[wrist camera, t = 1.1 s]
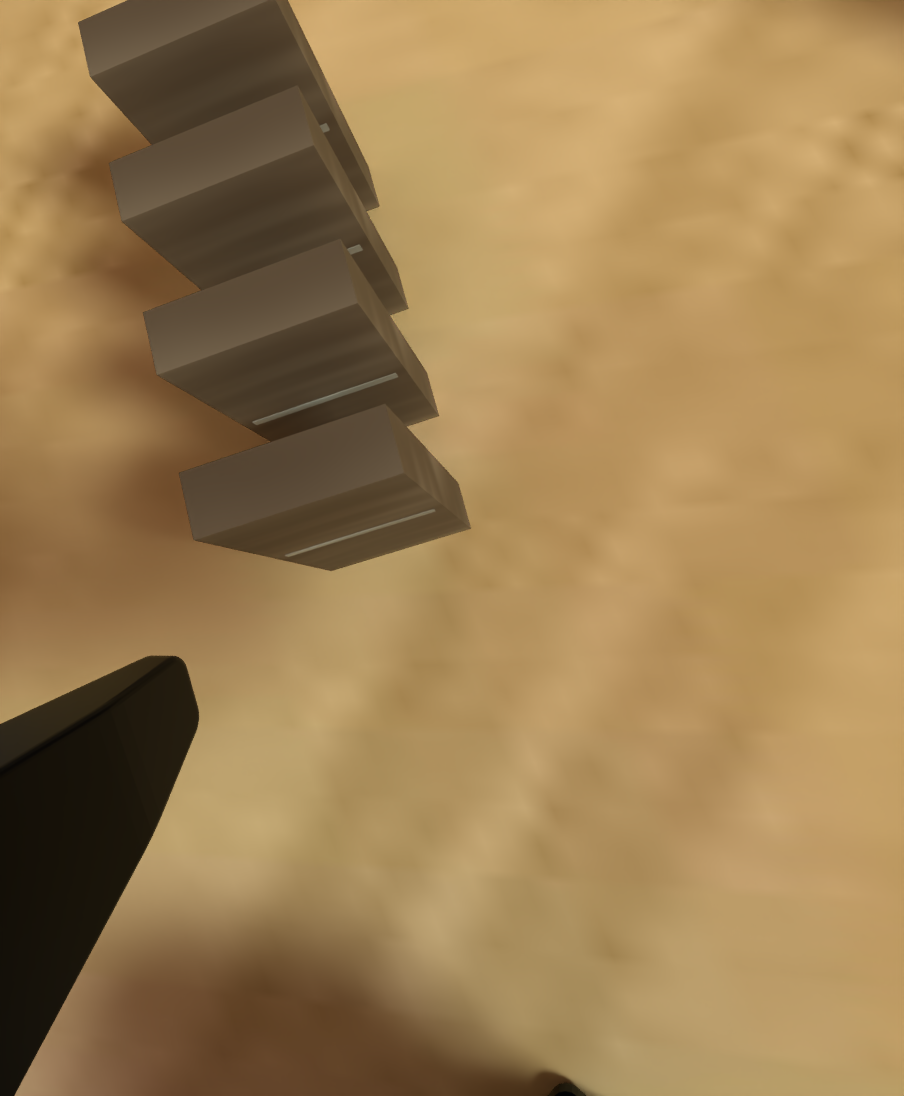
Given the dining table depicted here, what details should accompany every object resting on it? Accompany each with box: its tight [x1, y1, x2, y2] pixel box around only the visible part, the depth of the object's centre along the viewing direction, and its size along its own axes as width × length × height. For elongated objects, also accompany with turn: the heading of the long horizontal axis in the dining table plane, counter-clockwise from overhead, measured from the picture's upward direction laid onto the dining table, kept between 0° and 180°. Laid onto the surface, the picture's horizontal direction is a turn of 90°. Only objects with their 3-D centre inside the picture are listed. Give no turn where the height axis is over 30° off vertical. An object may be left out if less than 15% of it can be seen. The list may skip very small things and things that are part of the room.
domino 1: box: [179, 404, 471, 571], centre depth 21 cm, size 2×5×9 cm, turn 106°
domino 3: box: [109, 85, 409, 315], centre depth 22 cm, size 2×5×9 cm, turn 105°
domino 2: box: [143, 239, 439, 442], centre depth 21 cm, size 2×5×9 cm, turn 105°
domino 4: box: [78, 0, 379, 211], centre depth 23 cm, size 2×5×9 cm, turn 105°
